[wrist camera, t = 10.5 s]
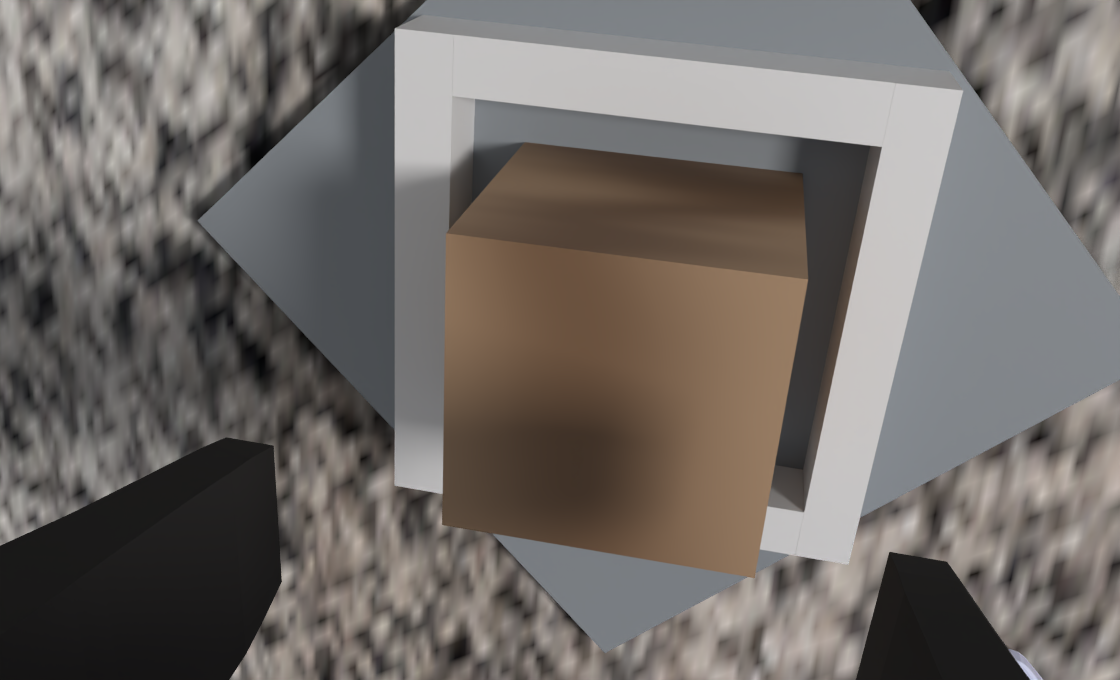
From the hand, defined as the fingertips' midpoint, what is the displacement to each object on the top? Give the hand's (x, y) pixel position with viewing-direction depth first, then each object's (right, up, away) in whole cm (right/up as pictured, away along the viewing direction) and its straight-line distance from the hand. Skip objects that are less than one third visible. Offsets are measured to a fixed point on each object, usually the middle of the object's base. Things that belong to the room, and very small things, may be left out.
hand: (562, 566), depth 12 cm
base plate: (+2, +4, +8) cm, 9 cm away
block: (+2, +4, +8) cm, 9 cm away
